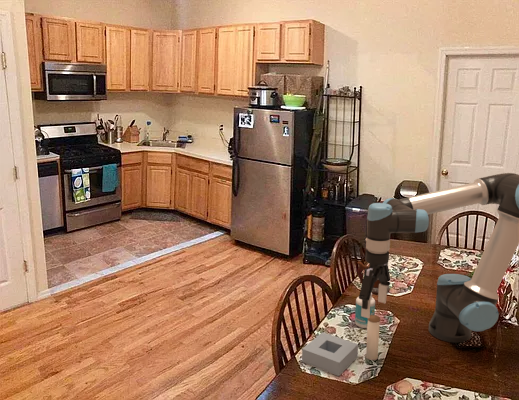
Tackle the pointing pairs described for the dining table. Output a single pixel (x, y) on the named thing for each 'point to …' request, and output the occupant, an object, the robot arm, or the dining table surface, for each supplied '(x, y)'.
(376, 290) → the mug
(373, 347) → the peg
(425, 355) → the dining table surface
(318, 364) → the socket
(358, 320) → the pill bottle
